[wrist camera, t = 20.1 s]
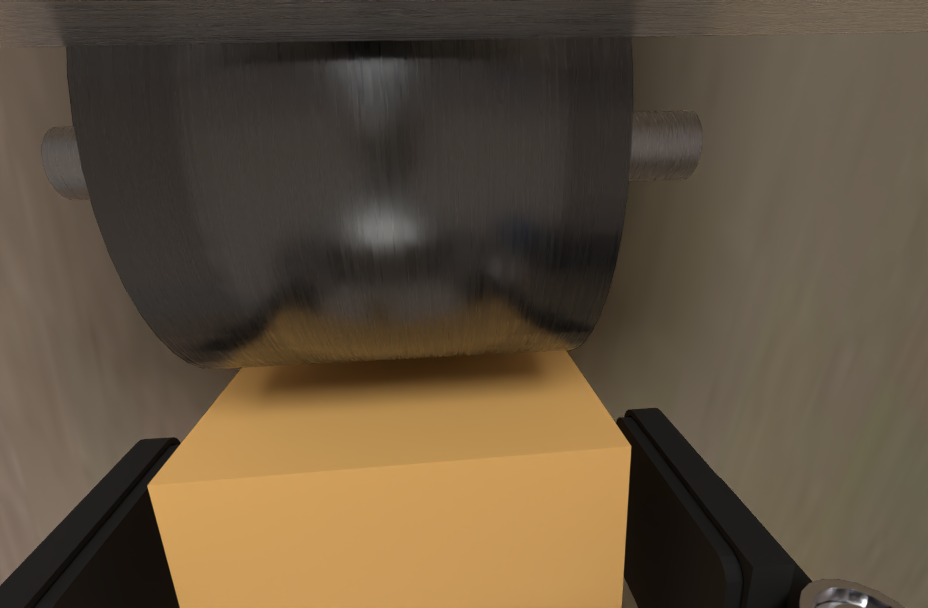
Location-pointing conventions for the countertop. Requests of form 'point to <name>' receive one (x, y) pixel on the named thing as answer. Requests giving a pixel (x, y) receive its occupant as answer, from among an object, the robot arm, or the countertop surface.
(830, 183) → the countertop surface
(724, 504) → the robot arm
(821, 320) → the countertop surface
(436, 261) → the white stand
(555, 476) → the orange cube
